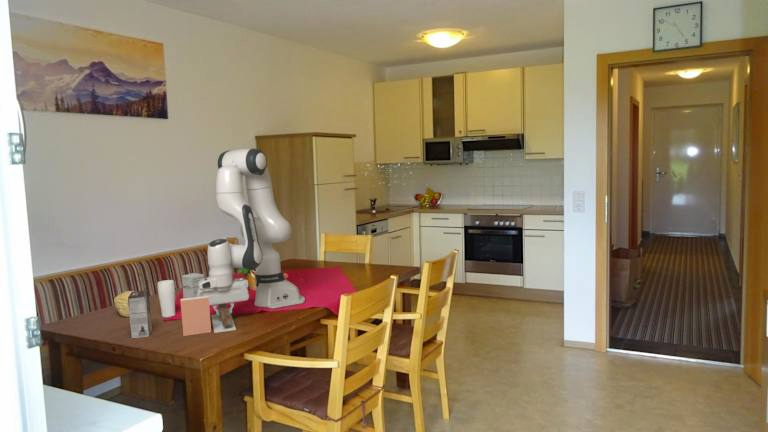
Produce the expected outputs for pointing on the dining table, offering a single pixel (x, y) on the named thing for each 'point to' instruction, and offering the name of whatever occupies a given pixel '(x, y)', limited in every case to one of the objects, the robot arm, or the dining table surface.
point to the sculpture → (123, 303)
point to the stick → (224, 314)
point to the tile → (195, 315)
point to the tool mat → (219, 326)
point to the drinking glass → (167, 297)
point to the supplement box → (191, 284)
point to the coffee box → (140, 314)
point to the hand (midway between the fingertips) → (224, 314)
